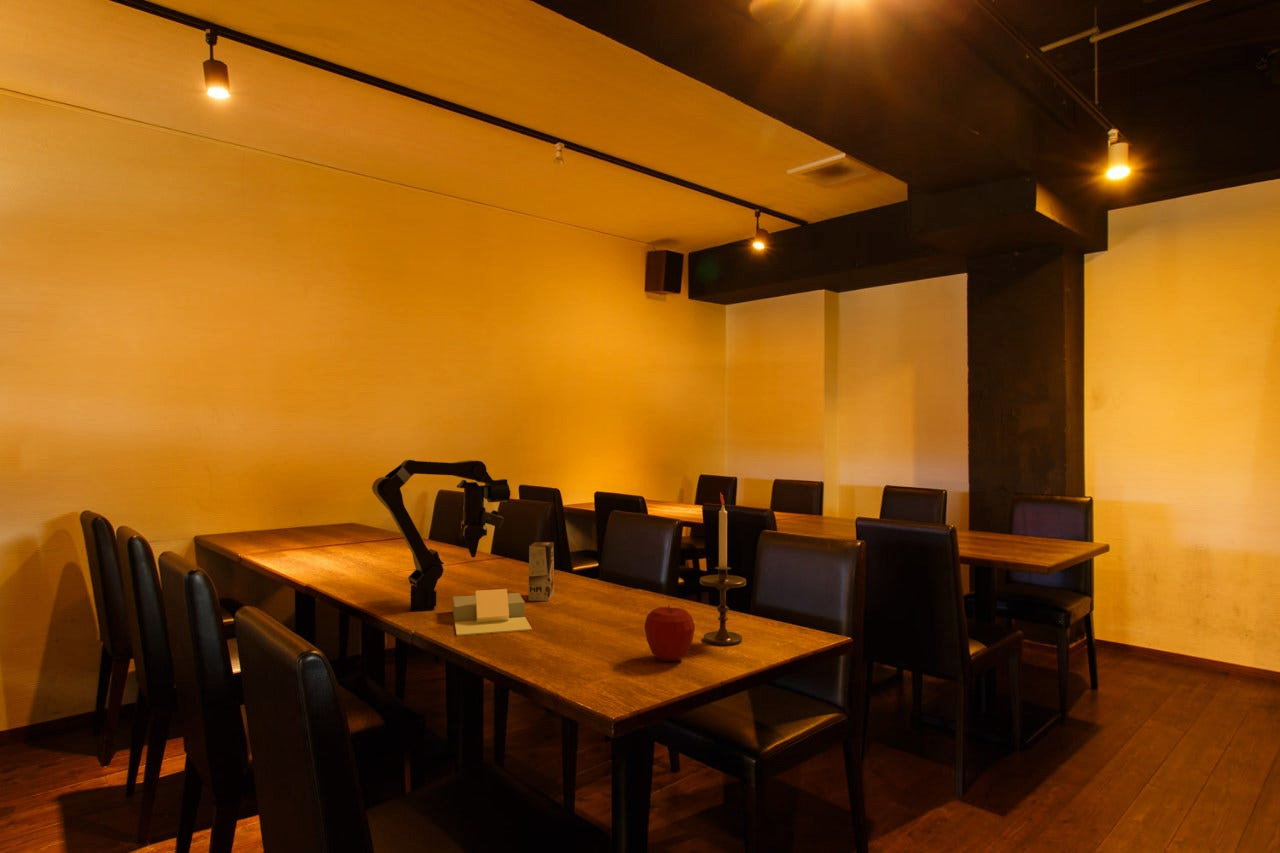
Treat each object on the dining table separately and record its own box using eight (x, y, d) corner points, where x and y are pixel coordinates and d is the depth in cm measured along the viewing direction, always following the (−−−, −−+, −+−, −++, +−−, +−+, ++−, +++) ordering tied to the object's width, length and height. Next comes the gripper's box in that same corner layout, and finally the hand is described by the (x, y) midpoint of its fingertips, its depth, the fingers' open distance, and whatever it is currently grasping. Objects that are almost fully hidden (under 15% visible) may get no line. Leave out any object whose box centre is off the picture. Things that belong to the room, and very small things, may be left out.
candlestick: (709, 648, 157) (710, 494, 158) (693, 635, 167) (693, 490, 168) (753, 645, 160) (753, 493, 160) (734, 632, 170) (735, 490, 171)
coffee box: (549, 601, 202) (550, 546, 203) (527, 601, 202) (528, 545, 203) (554, 594, 211) (554, 541, 212) (533, 594, 211) (533, 541, 212)
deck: (454, 622, 178) (454, 606, 178) (452, 611, 190) (452, 596, 190) (524, 617, 183) (524, 602, 184) (518, 607, 195) (518, 592, 195)
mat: (456, 636, 166) (456, 634, 166) (454, 623, 177) (454, 621, 177) (531, 630, 171) (531, 628, 171) (525, 618, 183) (525, 616, 183)
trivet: (476, 623, 176) (477, 617, 175) (475, 596, 182) (475, 590, 180) (508, 620, 179) (509, 615, 177) (506, 594, 184) (506, 588, 183)
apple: (656, 670, 142) (656, 613, 142) (636, 655, 152) (636, 601, 152) (703, 663, 146) (703, 608, 146) (680, 649, 156) (681, 597, 156)
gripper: (505, 505, 195) (504, 561, 195) (498, 500, 213) (498, 550, 213) (464, 506, 192) (464, 563, 191) (461, 500, 210) (460, 552, 209)
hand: (473, 557), depth 201 cm, fingers closed
